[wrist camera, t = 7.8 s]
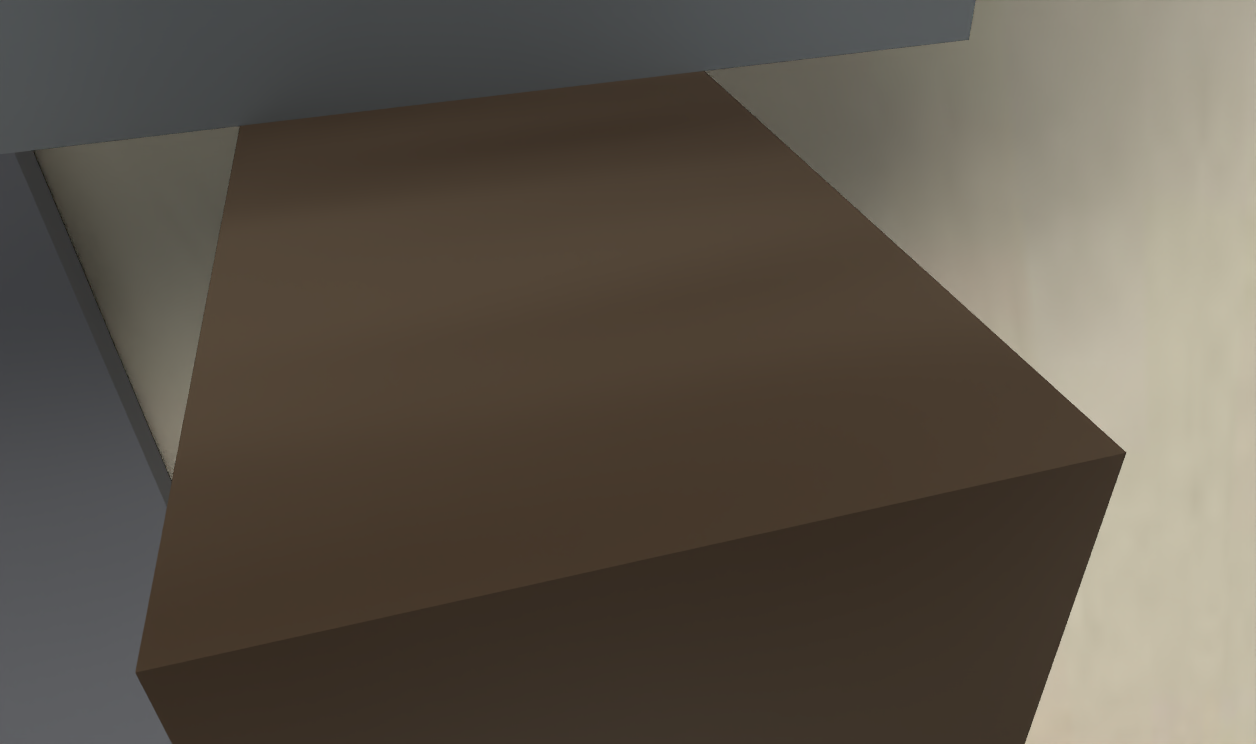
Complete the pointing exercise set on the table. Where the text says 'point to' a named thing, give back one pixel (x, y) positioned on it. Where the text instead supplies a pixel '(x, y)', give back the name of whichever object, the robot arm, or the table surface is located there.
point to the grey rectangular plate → (68, 493)
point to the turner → (568, 388)
